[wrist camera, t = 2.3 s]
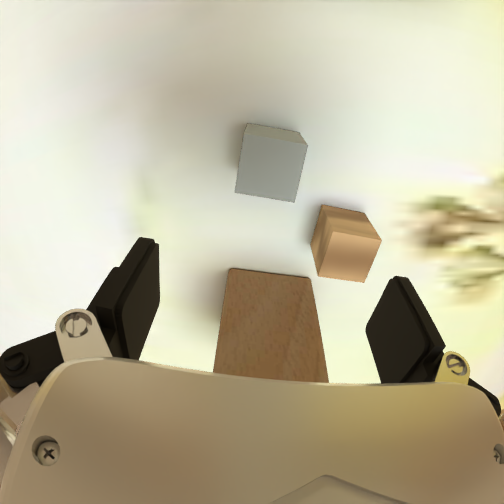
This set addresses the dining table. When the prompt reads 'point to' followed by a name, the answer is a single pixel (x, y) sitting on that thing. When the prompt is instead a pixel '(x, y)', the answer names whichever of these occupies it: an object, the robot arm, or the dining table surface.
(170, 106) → the dining table surface
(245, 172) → the slate block
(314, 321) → the wooden block
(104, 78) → the dining table surface
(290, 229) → the dining table surface
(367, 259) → the oak block
